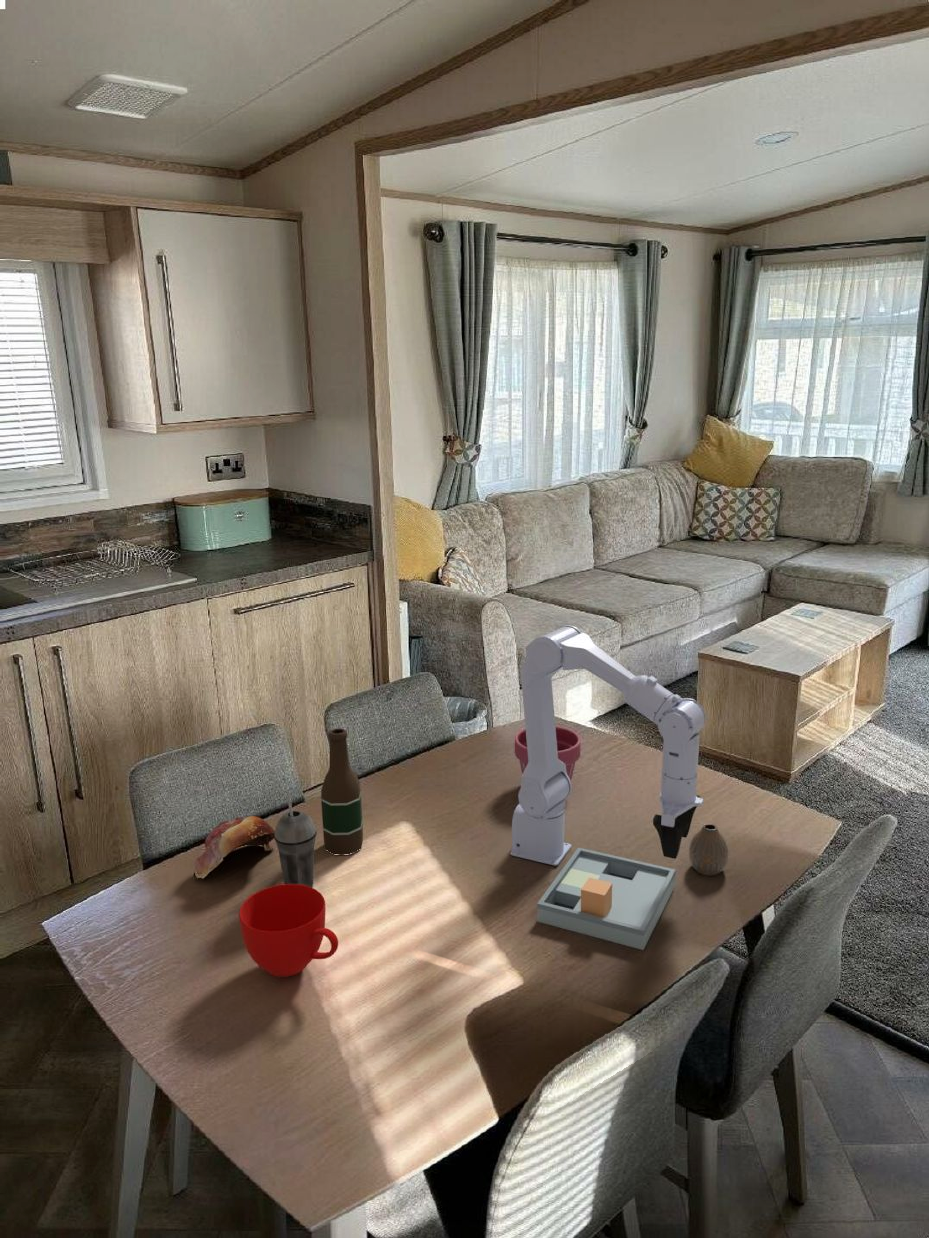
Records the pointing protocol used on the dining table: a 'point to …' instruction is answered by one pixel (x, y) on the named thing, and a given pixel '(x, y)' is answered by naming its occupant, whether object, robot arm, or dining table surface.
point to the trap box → (633, 897)
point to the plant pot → (565, 747)
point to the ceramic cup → (285, 928)
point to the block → (596, 897)
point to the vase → (708, 851)
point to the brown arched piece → (233, 841)
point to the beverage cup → (296, 846)
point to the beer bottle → (341, 800)
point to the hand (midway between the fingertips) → (675, 845)
